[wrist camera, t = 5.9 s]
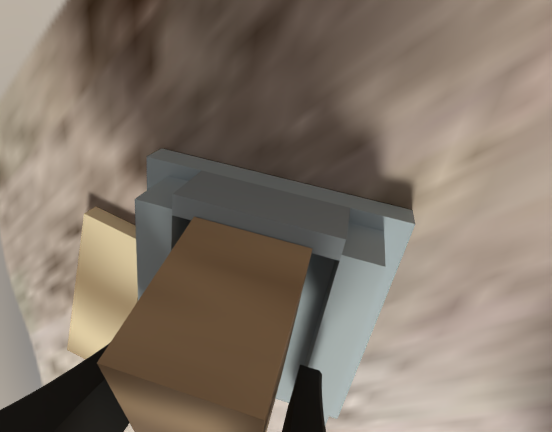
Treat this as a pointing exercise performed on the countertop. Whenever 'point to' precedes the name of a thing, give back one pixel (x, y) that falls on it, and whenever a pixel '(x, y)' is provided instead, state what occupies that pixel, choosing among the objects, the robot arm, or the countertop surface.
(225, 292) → the tan pegged block
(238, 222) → the jig
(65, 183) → the countertop surface
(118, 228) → the plank
